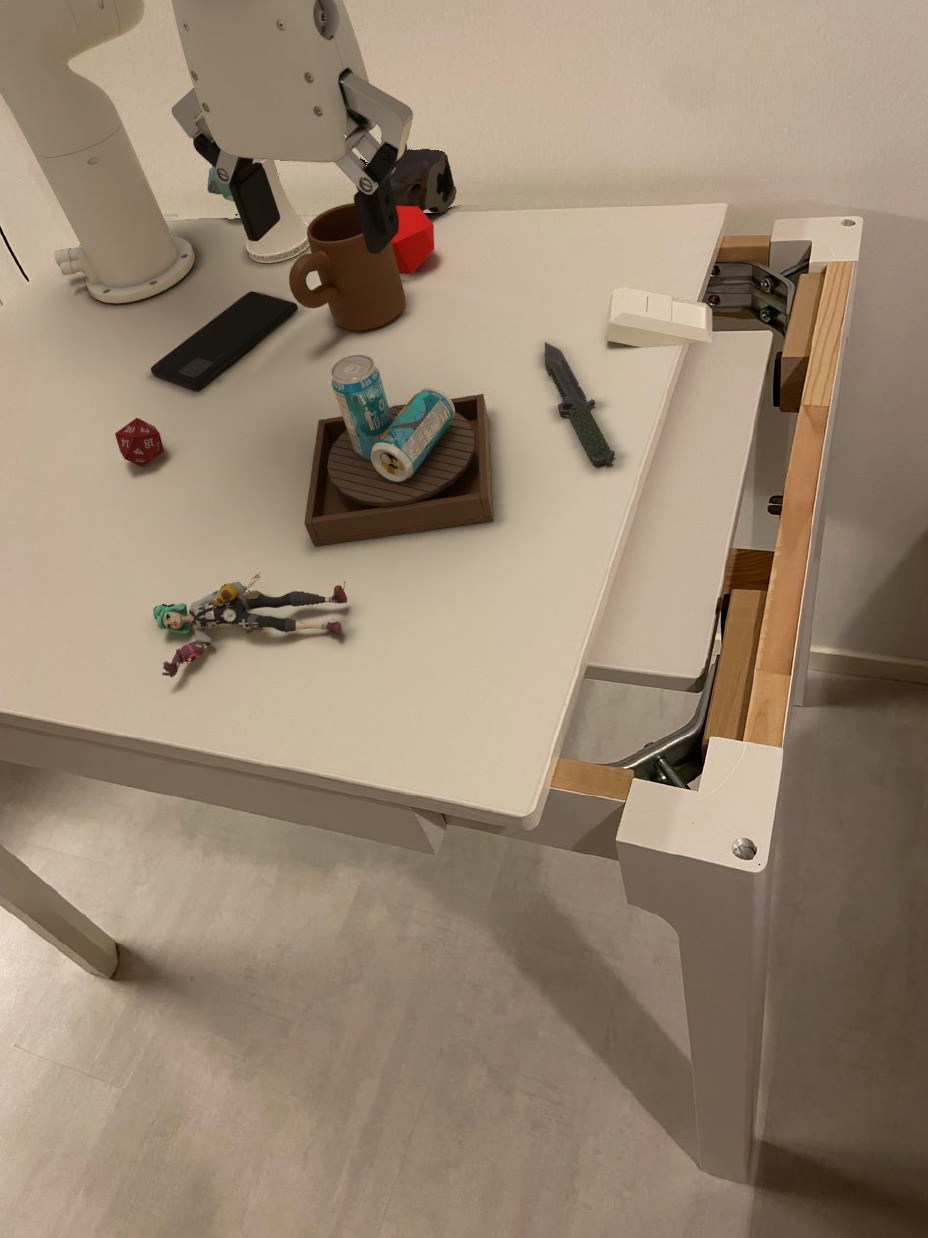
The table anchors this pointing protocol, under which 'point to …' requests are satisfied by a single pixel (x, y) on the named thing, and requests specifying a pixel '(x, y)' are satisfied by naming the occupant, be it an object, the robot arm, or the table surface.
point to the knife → (577, 407)
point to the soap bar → (656, 319)
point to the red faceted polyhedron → (412, 238)
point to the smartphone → (223, 340)
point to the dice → (139, 442)
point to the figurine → (235, 616)
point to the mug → (348, 273)
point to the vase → (279, 226)
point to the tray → (353, 521)
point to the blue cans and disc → (394, 440)
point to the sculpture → (423, 180)
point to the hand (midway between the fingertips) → (323, 236)
